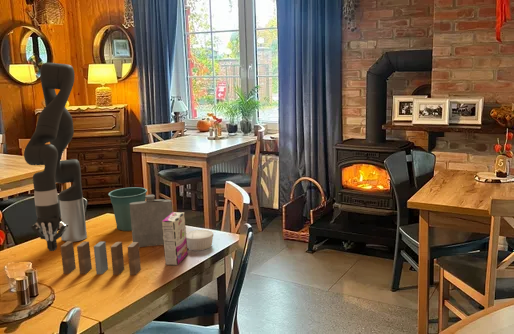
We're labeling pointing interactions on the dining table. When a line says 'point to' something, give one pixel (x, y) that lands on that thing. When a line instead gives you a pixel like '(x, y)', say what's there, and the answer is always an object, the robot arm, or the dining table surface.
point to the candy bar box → (174, 238)
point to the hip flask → (149, 220)
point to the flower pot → (125, 205)
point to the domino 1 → (68, 257)
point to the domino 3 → (100, 257)
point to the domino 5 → (134, 258)
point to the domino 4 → (117, 258)
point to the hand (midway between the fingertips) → (52, 250)
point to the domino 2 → (84, 257)
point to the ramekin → (199, 239)
